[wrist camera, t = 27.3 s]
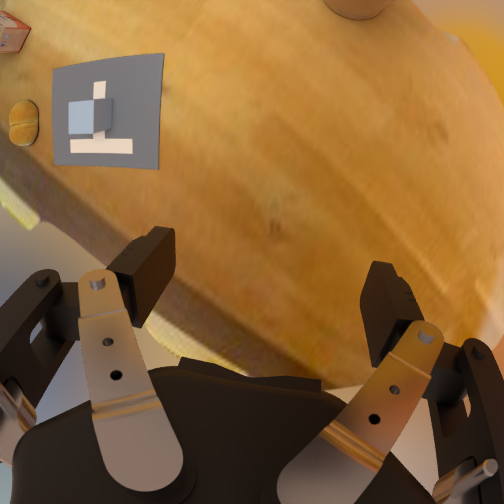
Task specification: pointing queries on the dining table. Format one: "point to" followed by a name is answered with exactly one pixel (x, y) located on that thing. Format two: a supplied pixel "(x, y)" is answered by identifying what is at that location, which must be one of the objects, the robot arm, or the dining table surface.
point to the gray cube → (90, 116)
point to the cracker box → (11, 33)
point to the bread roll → (23, 123)
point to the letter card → (123, 112)
